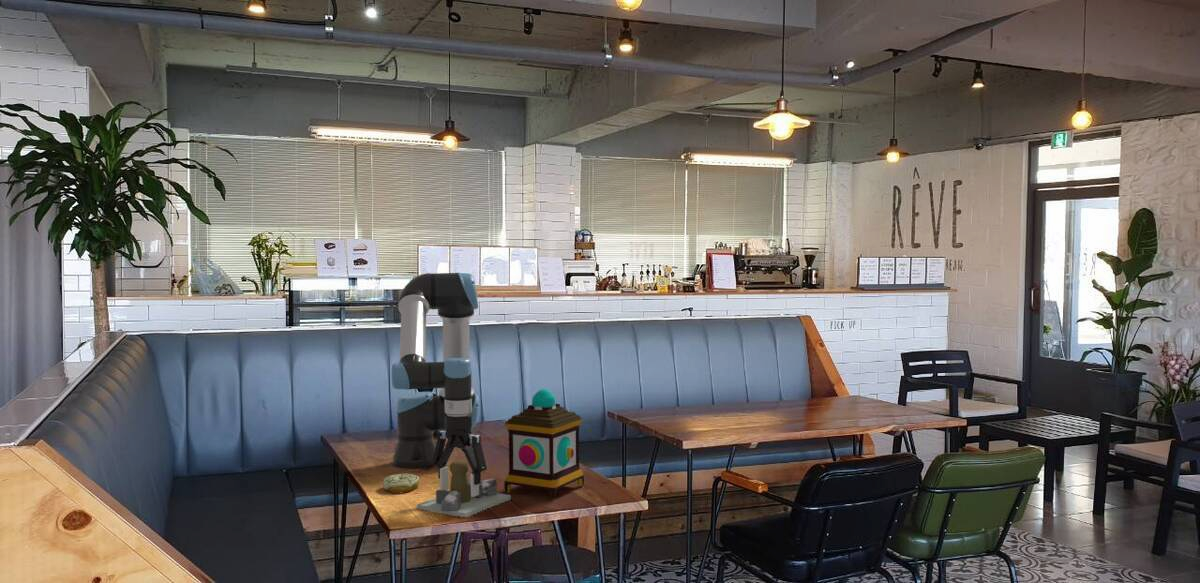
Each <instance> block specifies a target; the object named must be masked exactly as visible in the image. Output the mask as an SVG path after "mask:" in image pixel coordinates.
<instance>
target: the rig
mask: <svg viewBox="0 0 1200 583" xmlns="http://www.w3.org/2000/svg"><path fill="white" fill-rule="evenodd" d="M468 484H469V491H470V498H471V500H470V501H469V502H466V503H461V493H458V496H459V497H458V498H460V506H461V508H460V509H459V510H458V511H442V507H441V501H442V500H443V499H444V498H445V497H446V496H447V495H448V494H449V493H450V492H451V491H450V490H440V488H439V489H437V490H435V498H434V497H433V498H431V499H429V500H425V501H422V502H419V503H417V504H416V509H417V508H418V509H417V510H421V509H423V510H422V511H426V510H427V511H428V512H433V513H437V512H438V514H442V513H443V514H444V515H447V514H448V516H454V517H458V516H460V517H459V518H463V517H467V518H469V517H471V515H472V516H474V515H476V514H478V512H479V513H481V512H483V511H482V510H484V511H486V510H488V509H487V508H489V509H490V507H491V508H493V507H492V506H494V507H496V506H498V505H501V504H502V503H505V501H506V502H508V501H510V500H511V499H512V498H511V497H512V496H511V495H510V494H506V493H501V492H500V493H499V492H497V495H493V496H489V497H487V496H485V495H482V485H479V495H477V496H474V497H471V482H468ZM500 503H501V504H500ZM495 505H496V506H495ZM485 509H486V510H485ZM480 511H481V512H480ZM473 514H474V515H473Z"/></svg>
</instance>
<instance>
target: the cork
mask: <svg viewBox="0 0 1200 583" xmlns="http://www.w3.org/2000/svg"><path fill="white" fill-rule="evenodd" d="M469 469H470V464H469V462H468V461H466V460H461V459H460V460H454V461H452V462H451V463H450V465H449V471H450V473H451V479H450V485H449V487H450V489H449V491H457V492H458V493H461V503H466V502H469V501H470V500H471V498H470V491H469V484H468V483H469V478H468V474H467V473H468V472H469Z"/></svg>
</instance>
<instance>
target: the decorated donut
mask: <svg viewBox="0 0 1200 583" xmlns="http://www.w3.org/2000/svg"><path fill="white" fill-rule="evenodd" d="M382 483H383V488H384V489H385V490H386V491H387V492H389V493H394V492H398V493H397V494H400V493H399V492H404V493H407V492H408V491H409V492H413V491H414V490H416V489H417V488H418V487H419V485H420V477H419V476H418V475H415V474H412V473H398V474H397V473H396V474H391V475H389V476H386V477H385V478H384V479H383V481H382ZM412 490H413V491H412ZM409 492H408V493H409Z"/></svg>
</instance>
